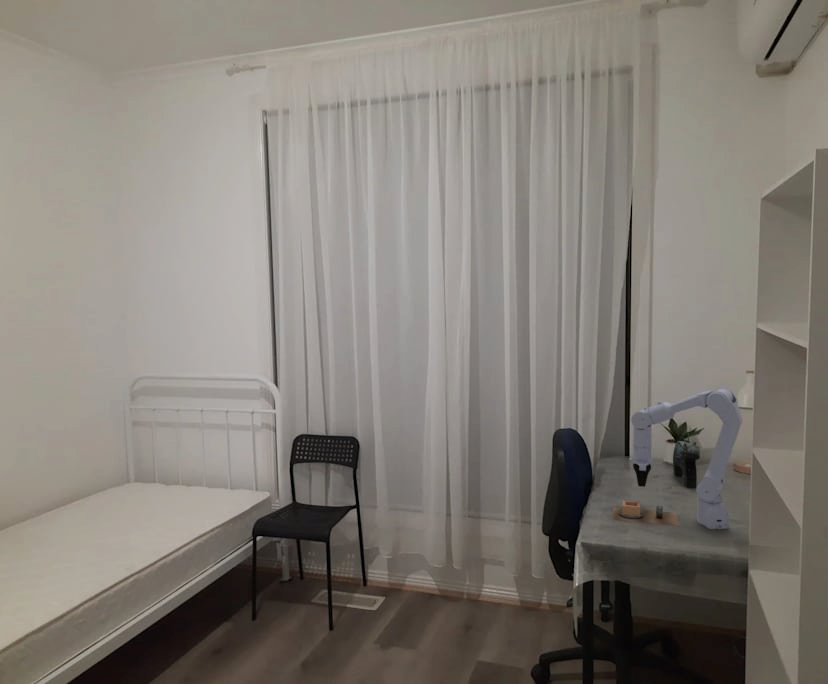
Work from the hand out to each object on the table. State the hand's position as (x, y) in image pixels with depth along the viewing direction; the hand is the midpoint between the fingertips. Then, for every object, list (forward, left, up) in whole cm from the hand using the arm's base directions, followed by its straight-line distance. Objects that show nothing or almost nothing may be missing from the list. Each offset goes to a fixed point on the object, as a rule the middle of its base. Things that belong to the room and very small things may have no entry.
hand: (641, 485), depth 212 cm
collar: (-5, +6, -7) cm, 11 cm away
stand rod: (-9, -2, -8) cm, 12 cm away
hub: (-5, +6, -8) cm, 11 cm away
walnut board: (-7, +2, -9) cm, 12 cm away
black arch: (+32, -31, -10) cm, 46 cm away
